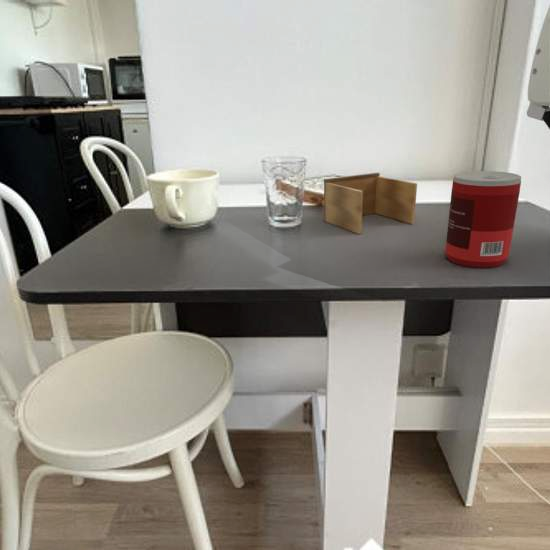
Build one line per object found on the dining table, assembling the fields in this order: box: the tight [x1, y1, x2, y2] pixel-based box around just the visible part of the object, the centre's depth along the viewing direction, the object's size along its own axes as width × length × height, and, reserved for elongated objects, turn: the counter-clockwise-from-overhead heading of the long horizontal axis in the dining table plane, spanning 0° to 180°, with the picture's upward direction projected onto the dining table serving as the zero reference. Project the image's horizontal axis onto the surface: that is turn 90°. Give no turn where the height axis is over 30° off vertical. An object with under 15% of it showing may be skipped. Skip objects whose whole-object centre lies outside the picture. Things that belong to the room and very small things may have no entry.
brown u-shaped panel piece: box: [323, 172, 418, 235], centre depth 77 cm, size 11×12×8 cm
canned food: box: [444, 170, 522, 269], centre depth 57 cm, size 8×8×11 cm
